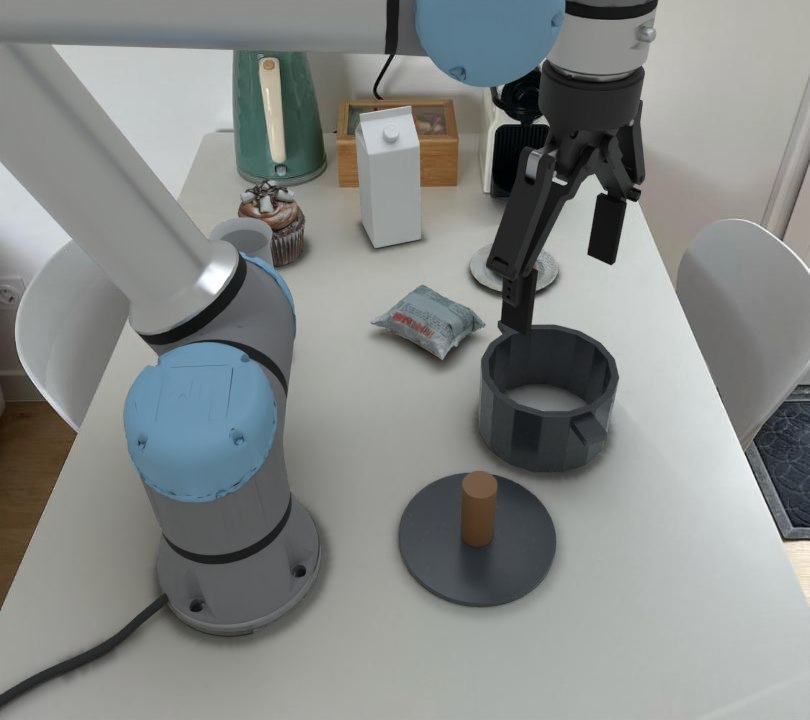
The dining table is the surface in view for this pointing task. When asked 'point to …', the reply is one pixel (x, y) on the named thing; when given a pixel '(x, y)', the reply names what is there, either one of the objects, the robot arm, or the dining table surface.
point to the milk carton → (389, 176)
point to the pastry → (495, 281)
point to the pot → (555, 365)
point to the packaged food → (430, 320)
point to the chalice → (246, 237)
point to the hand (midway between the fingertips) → (560, 291)
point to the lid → (477, 539)
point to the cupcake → (276, 219)
